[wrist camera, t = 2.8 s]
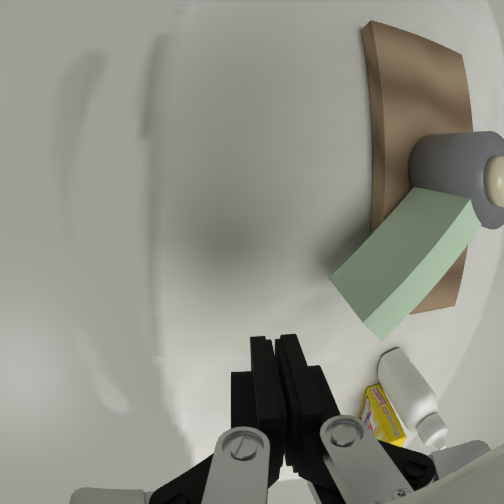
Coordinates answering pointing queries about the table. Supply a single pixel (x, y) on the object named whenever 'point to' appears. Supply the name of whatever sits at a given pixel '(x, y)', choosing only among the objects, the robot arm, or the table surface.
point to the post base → (412, 123)
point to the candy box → (381, 417)
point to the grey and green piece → (426, 227)
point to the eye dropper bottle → (412, 398)
